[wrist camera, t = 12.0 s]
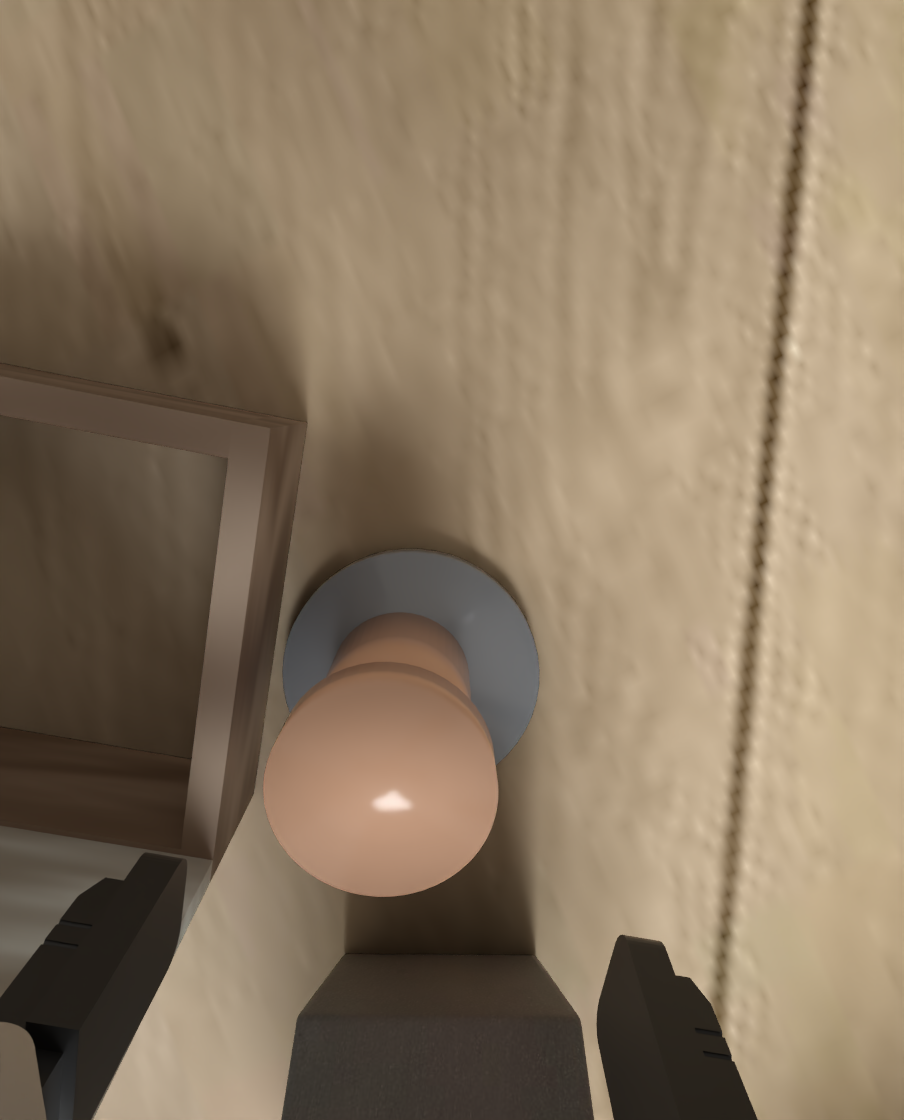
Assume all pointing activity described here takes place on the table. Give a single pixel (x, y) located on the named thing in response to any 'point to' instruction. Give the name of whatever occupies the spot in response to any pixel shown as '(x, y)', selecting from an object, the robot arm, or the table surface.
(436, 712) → the round cabinet knob
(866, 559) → the table surface
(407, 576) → the saucer
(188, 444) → the hinged wooden box
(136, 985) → the robot arm
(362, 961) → the planter
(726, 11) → the table surface
